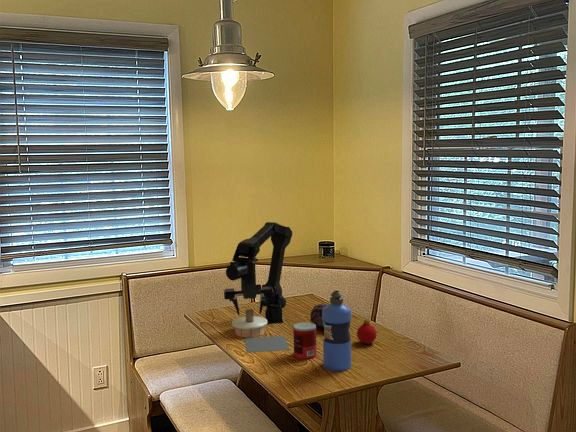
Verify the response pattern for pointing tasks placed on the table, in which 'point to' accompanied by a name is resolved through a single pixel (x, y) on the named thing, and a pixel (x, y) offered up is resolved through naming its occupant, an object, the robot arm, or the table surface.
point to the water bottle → (336, 334)
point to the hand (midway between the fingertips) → (249, 314)
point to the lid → (249, 321)
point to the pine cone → (317, 315)
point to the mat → (266, 344)
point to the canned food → (304, 340)
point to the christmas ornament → (366, 332)
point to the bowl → (249, 332)
